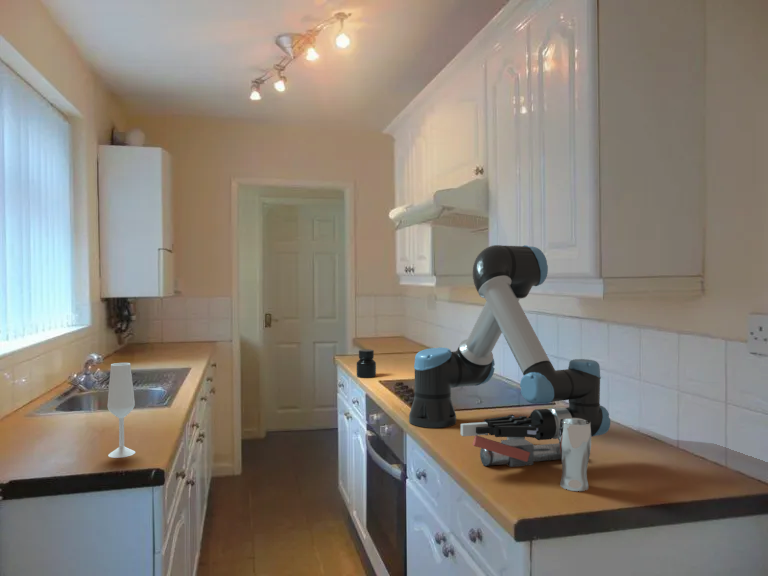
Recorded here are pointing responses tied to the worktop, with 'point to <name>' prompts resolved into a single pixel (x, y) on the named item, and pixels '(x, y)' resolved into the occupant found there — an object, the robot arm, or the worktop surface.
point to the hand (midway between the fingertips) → (461, 430)
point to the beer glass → (574, 452)
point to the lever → (502, 448)
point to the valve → (536, 451)
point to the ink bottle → (366, 364)
